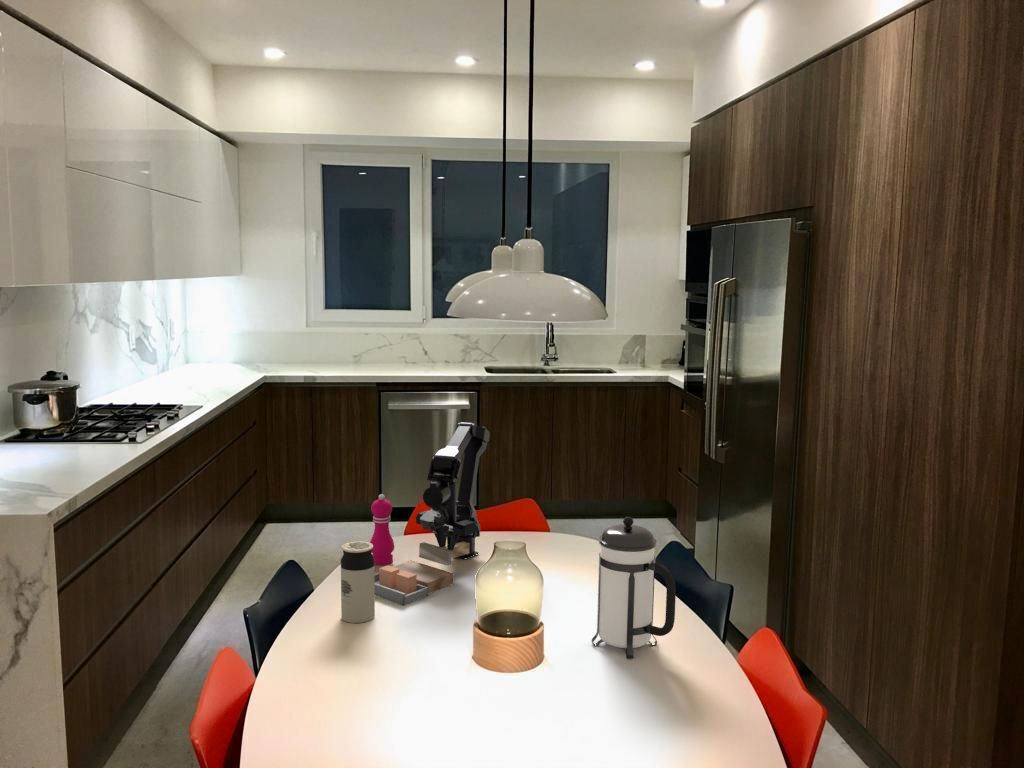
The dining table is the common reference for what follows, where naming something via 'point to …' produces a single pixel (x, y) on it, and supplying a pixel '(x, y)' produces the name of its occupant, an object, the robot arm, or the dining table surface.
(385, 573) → the tan square block
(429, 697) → the dining table surface
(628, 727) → the dining table surface
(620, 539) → the coffee press
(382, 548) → the pepper mill
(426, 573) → the board
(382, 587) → the box
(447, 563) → the scraper
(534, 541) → the dining table surface
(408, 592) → the tile
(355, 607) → the travel mug
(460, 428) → the robot arm
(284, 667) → the dining table surface
